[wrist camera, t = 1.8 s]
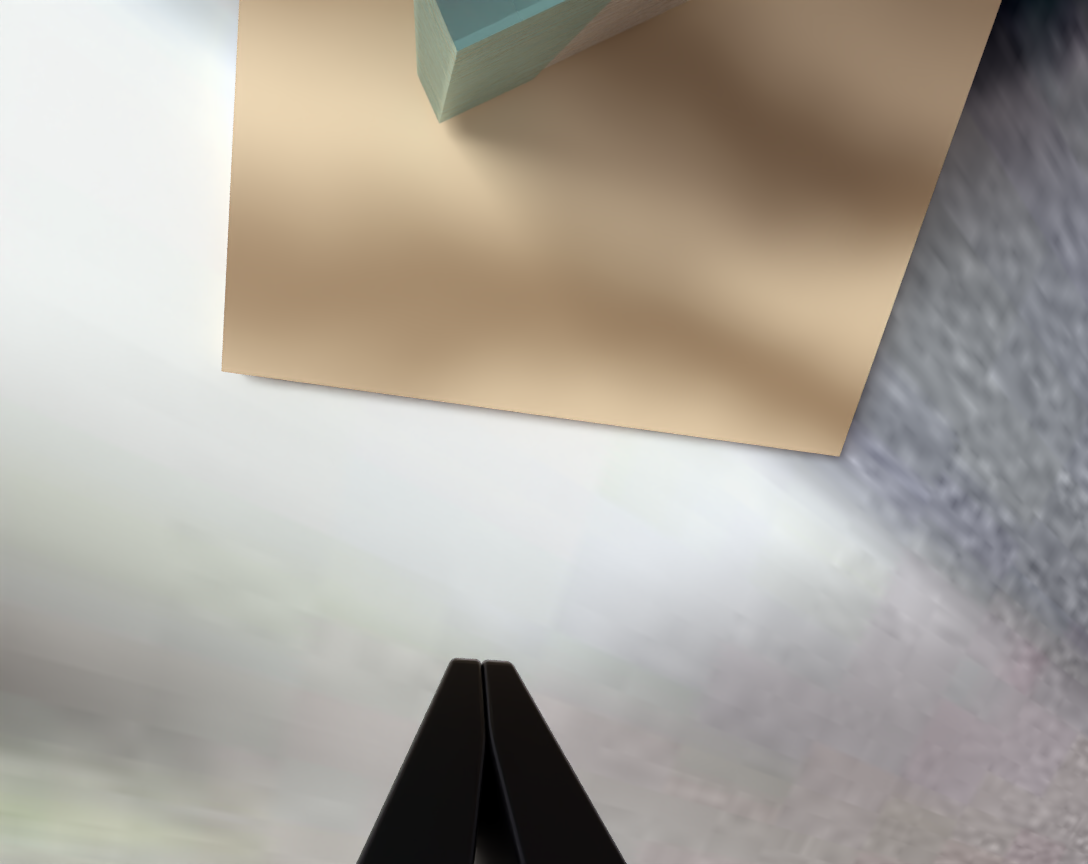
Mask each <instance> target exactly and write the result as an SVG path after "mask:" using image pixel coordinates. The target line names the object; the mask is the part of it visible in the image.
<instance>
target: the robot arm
mask: <svg viewBox="0 0 1088 864" xmlns="http://www.w3.org/2000/svg"><path fill="white" fill-rule="evenodd" d="M356 864H627V863H626V862H625V860H624V858H623V856H622V855H621V853H620V851H619V849H618V848H617V846H616V844H615V842H614V841H613V839H612V837H611V835H610V834H609V832H608V830H607V828H606V827H605V825H604V823H603V821H602V820H601V818H600V816H599V814H598V813H597V811H596V809H595V807H594V806H593V804H592V802H591V800H590V799H589V797H588V795H587V793H586V792H585V790H584V788H583V786H582V784H581V783H580V781H579V779H578V777H577V776H576V774H575V772H574V770H573V769H572V767H571V765H570V763H569V762H568V760H567V758H566V756H565V755H564V753H563V751H562V749H561V748H560V746H559V744H558V742H557V741H556V739H555V737H554V735H553V734H552V732H551V730H550V728H549V727H548V725H547V723H546V721H545V720H544V718H543V716H542V714H541V713H540V711H539V709H538V707H537V706H536V704H535V702H534V700H533V698H532V697H531V695H530V693H529V691H528V690H527V688H526V686H525V684H524V683H523V681H522V679H521V677H520V676H519V674H518V672H517V670H516V669H515V667H514V665H513V664H512V663H510V662H509V661H498V660H485V661H483V662H482V663H480V661H479V660H477V659H465V658H454V659H452V660H451V661H450V663H449V665H448V667H447V669H446V671H445V673H444V676H443V678H442V680H441V682H440V684H439V686H438V688H437V691H436V693H435V695H434V697H433V699H432V701H431V704H430V706H429V708H428V710H427V712H426V714H425V717H424V719H423V721H422V723H421V725H420V727H419V729H418V732H417V734H416V736H415V738H414V740H413V742H412V745H411V747H410V749H409V751H408V753H407V755H406V758H405V760H404V762H403V764H402V766H401V768H400V770H399V773H398V775H397V777H396V779H395V781H394V783H393V786H392V788H391V790H390V792H389V794H388V796H387V799H386V801H385V803H384V805H383V807H382V809H381V811H380V814H379V816H378V818H377V820H376V822H375V824H374V827H373V829H372V831H371V833H370V835H369V837H368V839H367V842H366V844H365V846H364V848H363V850H362V852H361V855H360V857H359V859H358V861H357V863H356Z"/></svg>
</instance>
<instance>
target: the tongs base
mask: <svg viewBox="0 0 1088 864" xmlns="http://www.w3.org/2000/svg"><path fill="white" fill-rule="evenodd" d="M1000 3H1001V0H689V1H687V2H685V3H683V4H681V5H679V6H676V7H674V8H672V9H670V10H668V11H666V12H664V13H662V14H660V15H657V16H655V17H653V18H651V19H649V20H647V21H645V22H643V23H640V24H638V25H636V26H634V27H632V28H630V29H628V30H626V31H624V32H621V33H619V34H617V35H615V36H613V37H611V38H609V39H607V40H604V41H602V42H600V43H598V44H596V45H594V46H592V47H590V48H587V49H585V50H583V51H581V52H579V53H577V54H575V55H573V56H571V57H568V58H566V59H564V60H562V61H560V62H558V63H556V64H554V65H551V66H549V67H547V68H545V69H543V70H542V71H541V72H540V73H539V74H538V75H537V76H536V77H535V78H534V79H533V80H531V81H529V82H527V83H525V84H522V85H520V86H518V87H516V88H514V89H512V90H510V91H508V92H505V93H503V94H501V95H499V96H497V97H495V98H493V99H491V100H489V101H486V102H484V103H482V104H480V105H478V106H476V107H474V108H472V109H469V110H467V111H465V112H463V113H461V114H459V115H457V116H455V117H453V118H450V119H448V120H446V121H444V122H442V123H440V124H439V122H438V120H437V117H436V115H435V113H434V111H433V108H432V106H431V104H430V102H429V99H428V97H427V95H426V93H425V91H424V88H423V86H422V84H421V82H420V79H419V77H418V75H417V61H416V40H415V19H414V0H239V19H238V40H237V61H236V82H235V102H234V123H233V144H232V165H231V185H230V206H229V227H228V248H227V268H226V289H225V310H224V331H223V352H222V371H223V372H230V373H237V374H245V375H252V376H259V377H266V378H274V379H281V380H288V381H295V382H303V383H310V384H317V385H324V386H332V387H339V388H346V389H353V390H361V391H368V392H375V393H382V394H390V395H397V396H404V397H411V398H419V399H426V400H433V401H440V402H448V403H455V404H462V405H469V406H477V407H484V408H491V409H498V410H506V411H513V412H520V413H527V414H535V415H542V416H549V417H556V418H564V419H571V420H578V421H585V422H593V423H600V424H607V425H614V426H622V427H629V428H636V429H643V430H651V431H658V432H665V433H672V434H680V435H687V436H694V437H701V438H709V439H716V440H723V441H731V442H738V443H745V444H752V445H760V446H767V447H774V448H781V449H789V450H796V451H803V452H810V453H818V454H825V455H832V456H840V453H841V450H842V448H843V445H844V442H845V439H846V436H847V433H848V431H849V428H850V425H851V422H852V419H853V417H854V414H855V411H856V408H857V405H858V403H859V400H860V397H861V394H862V391H863V388H864V386H865V383H866V380H867V377H868V374H869V372H870V369H871V366H872V363H873V360H874V358H875V355H876V352H877V349H878V346H879V343H880V341H881V338H882V335H883V332H884V329H885V327H886V324H887V321H888V318H889V315H890V313H891V310H892V307H893V304H894V301H895V298H896V296H897V293H898V290H899V287H900V284H901V282H902V279H903V276H904V273H905V270H906V268H907V265H908V262H909V259H910V256H911V253H912V251H913V248H914V245H915V242H916V239H917V237H918V234H919V231H920V228H921V225H922V223H923V220H924V217H925V214H926V211H927V208H928V206H929V203H930V200H931V197H932V194H933V192H934V189H935V186H936V183H937V180H938V178H939V175H940V172H941V169H942V166H943V163H944V161H945V158H946V155H947V152H948V149H949V147H950V144H951V141H952V138H953V135H954V133H955V130H956V127H957V124H958V121H959V118H960V116H961V113H962V110H963V107H964V104H965V102H966V99H967V96H968V93H969V90H970V88H971V85H972V82H973V79H974V76H975V73H976V71H977V68H978V65H979V62H980V59H981V57H982V54H983V51H984V48H985V45H986V43H987V40H988V37H989V34H990V31H991V28H992V26H993V23H994V20H995V17H996V14H997V12H998V9H999V6H1000Z"/></svg>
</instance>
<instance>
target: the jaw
mask: <svg viewBox="0 0 1088 864" xmlns="http://www.w3.org/2000/svg"><path fill="white" fill-rule="evenodd" d="M687 1H689V0H414V19H415V40H416V61H417V75H418V77H419V79H420V82H421V84H422V86H423V88H424V91H425V93H426V95H427V97H428V99H429V102H430V104H431V106H432V108H433V111H434V113H435V115H436V117H437V120H438V122H439V124H440V123H442V122H444V121H446V120H448V119H450V118H453V117H455V116H457V115H459V114H461V113H463V112H465V111H467V110H469V109H472V108H474V107H476V106H478V105H480V104H482V103H484V102H486V101H489V100H491V99H493V98H495V97H497V96H499V95H501V94H503V93H505V92H508V91H510V90H512V89H514V88H516V87H518V86H520V85H522V84H525V83H527V82H529V81H531V80H533V79H534V78H535V77H536V76H537V75H538V74H539V73H540V72H541V71H542V70H543V69H545V68H547V67H549V66H551V65H554V64H556V63H558V62H560V61H562V60H564V59H566V58H568V57H571V56H573V55H575V54H577V53H579V52H581V51H583V50H585V49H587V48H590V47H592V46H594V45H596V44H598V43H600V42H602V41H604V40H607V39H609V38H611V37H613V36H615V35H617V34H619V33H621V32H624V31H626V30H628V29H630V28H632V27H634V26H636V25H638V24H640V23H643V22H645V21H647V20H649V19H651V18H653V17H655V16H657V15H660V14H662V13H664V12H666V11H668V10H670V9H672V8H674V7H676V6H679V5H681V4H683V3H685V2H687Z"/></svg>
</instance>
